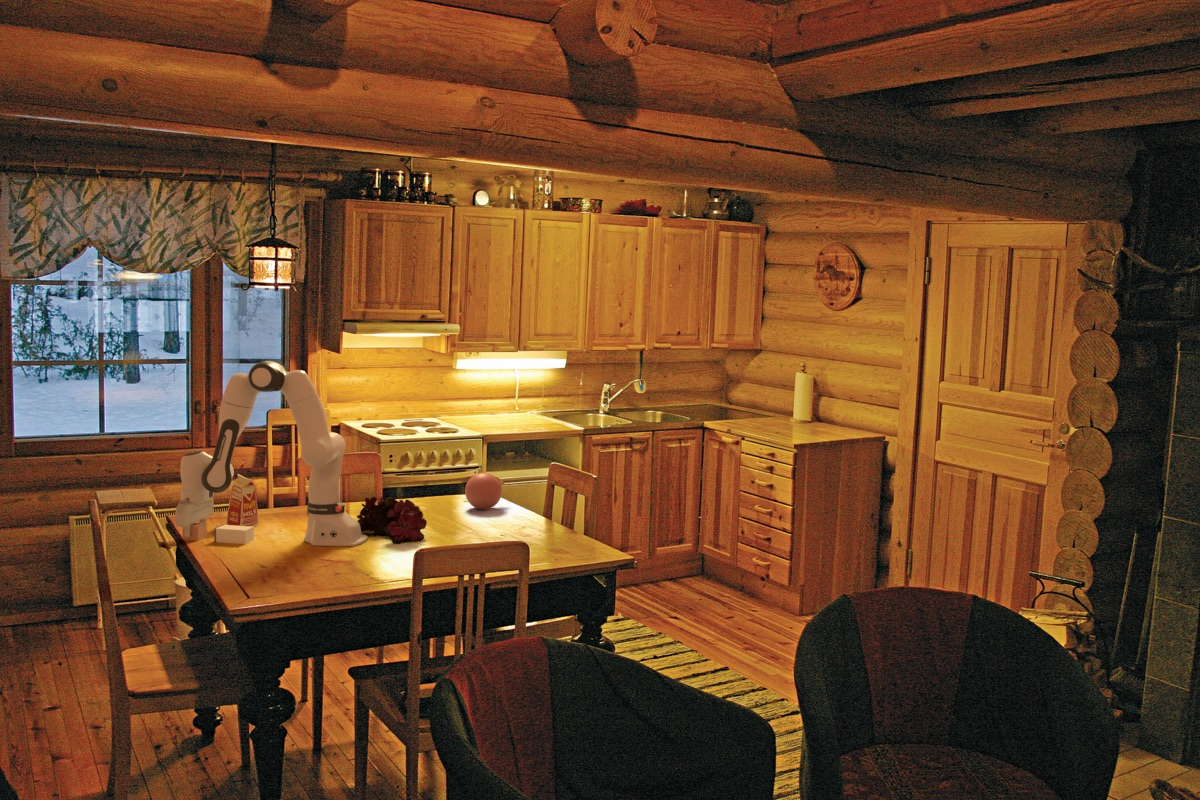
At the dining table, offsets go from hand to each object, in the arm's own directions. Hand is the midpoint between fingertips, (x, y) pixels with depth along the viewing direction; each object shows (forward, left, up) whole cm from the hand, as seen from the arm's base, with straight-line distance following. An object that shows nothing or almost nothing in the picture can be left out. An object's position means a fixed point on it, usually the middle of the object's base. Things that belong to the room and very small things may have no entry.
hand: (194, 533), depth 386 cm
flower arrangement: (-66, -25, -3) cm, 71 cm away
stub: (0, 0, -2) cm, 2 cm away
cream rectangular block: (-15, 0, -2) cm, 15 cm away
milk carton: (-6, -24, -3) cm, 25 cm away
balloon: (-87, -80, -3) cm, 118 cm away
